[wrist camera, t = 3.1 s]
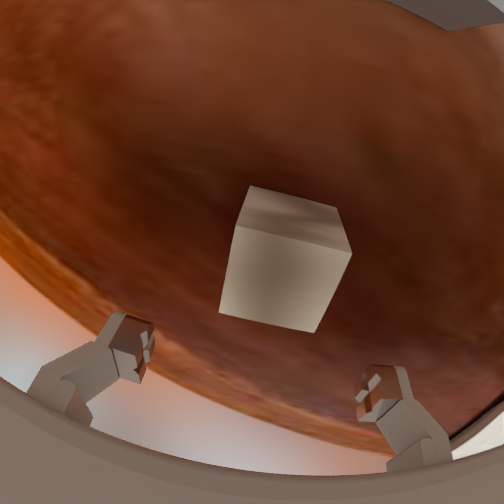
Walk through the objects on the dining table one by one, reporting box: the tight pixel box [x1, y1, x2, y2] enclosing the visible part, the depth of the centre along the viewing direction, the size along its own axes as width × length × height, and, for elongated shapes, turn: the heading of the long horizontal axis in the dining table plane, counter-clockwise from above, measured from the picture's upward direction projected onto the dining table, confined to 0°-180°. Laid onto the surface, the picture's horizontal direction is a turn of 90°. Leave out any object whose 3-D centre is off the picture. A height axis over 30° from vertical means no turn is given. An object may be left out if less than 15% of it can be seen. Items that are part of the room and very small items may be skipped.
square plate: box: [449, 401, 504, 460], centre depth 31 cm, size 27×27×4 cm
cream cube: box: [219, 186, 352, 333], centre depth 15 cm, size 5×5×5 cm
